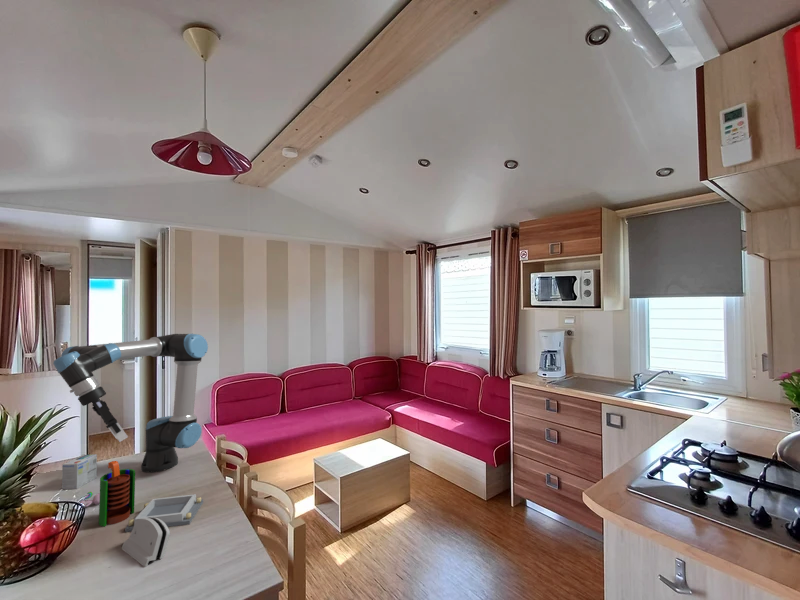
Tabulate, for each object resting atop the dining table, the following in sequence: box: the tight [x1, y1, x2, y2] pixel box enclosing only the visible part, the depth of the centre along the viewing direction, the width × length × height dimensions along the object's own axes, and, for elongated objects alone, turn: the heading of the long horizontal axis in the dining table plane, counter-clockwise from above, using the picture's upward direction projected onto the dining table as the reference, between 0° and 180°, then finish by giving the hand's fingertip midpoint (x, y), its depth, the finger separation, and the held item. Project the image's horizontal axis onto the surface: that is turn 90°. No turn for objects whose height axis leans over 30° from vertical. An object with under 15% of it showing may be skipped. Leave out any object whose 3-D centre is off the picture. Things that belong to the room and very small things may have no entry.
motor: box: [98, 460, 136, 528], centre depth 131 cm, size 10×9×20 cm
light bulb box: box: [61, 453, 98, 490], centre depth 159 cm, size 11×7×11 cm, turn 2°
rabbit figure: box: [79, 491, 100, 508], centre depth 141 cm, size 6×6×15 cm
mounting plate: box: [124, 493, 204, 533], centre depth 132 cm, size 15×20×4 cm
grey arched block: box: [121, 517, 171, 568], centre depth 113 cm, size 17×5×10 cm, turn 58°
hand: (122, 438), depth 136 cm, fingers open, 13 cm apart
